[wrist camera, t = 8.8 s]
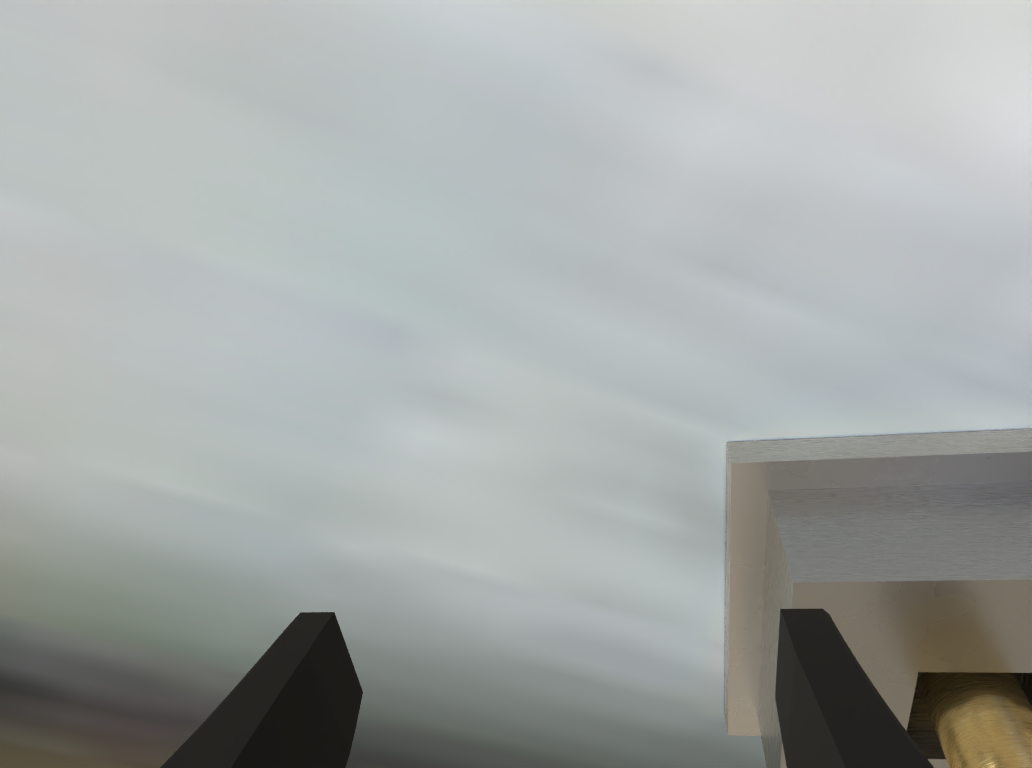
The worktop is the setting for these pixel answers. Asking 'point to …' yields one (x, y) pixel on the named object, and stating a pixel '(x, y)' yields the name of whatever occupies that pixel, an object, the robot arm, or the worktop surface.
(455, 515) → the worktop surface
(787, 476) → the chuck block
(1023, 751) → the brass cylinder rod
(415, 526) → the worktop surface
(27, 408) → the worktop surface
